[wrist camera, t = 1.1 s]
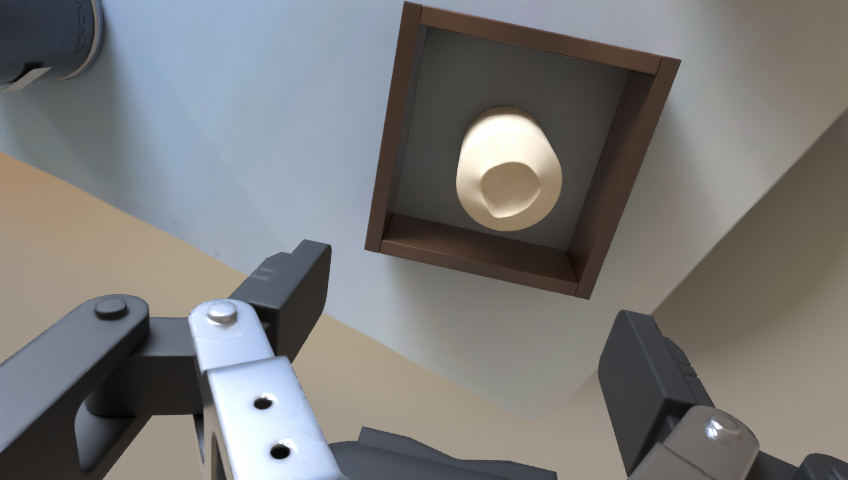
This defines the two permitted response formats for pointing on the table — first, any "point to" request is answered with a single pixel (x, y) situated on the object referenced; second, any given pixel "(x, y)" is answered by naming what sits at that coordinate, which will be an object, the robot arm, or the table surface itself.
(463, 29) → the walnut box
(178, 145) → the table surface
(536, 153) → the candle
